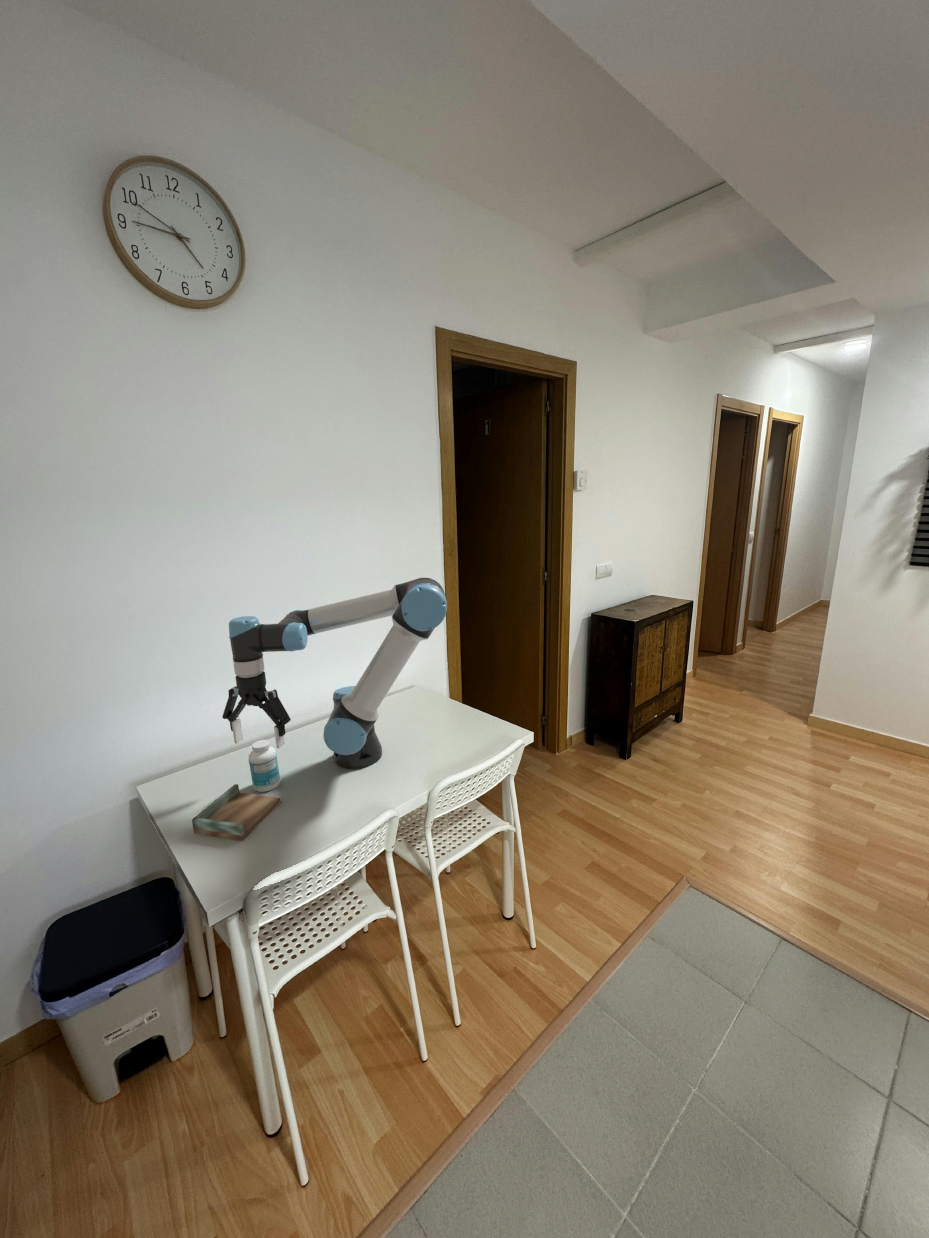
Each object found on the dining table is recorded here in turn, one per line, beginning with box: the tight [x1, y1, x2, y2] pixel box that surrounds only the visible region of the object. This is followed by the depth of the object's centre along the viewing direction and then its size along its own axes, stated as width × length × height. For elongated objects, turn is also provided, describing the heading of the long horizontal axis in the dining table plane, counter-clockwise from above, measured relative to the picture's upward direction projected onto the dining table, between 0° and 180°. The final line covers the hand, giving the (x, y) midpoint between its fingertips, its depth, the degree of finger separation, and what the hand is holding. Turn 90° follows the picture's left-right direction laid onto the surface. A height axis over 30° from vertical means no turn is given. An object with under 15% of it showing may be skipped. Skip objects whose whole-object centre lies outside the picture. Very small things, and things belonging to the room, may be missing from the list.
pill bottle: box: [247, 739, 281, 793], centre depth 143 cm, size 8×7×14 cm
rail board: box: [191, 783, 282, 842], centre depth 130 cm, size 14×16×4 cm
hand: (259, 743), depth 141 cm, fingers open, 13 cm apart
